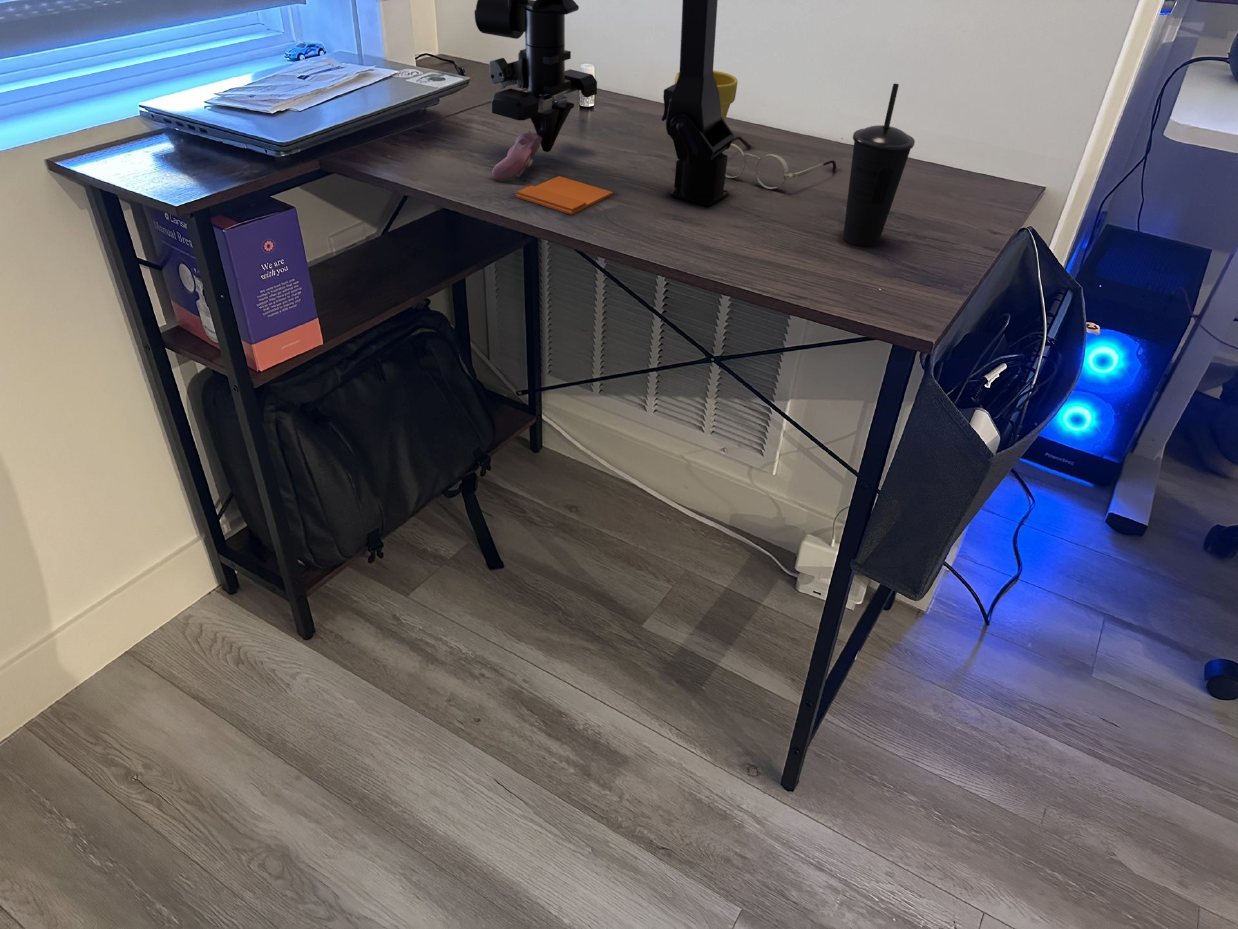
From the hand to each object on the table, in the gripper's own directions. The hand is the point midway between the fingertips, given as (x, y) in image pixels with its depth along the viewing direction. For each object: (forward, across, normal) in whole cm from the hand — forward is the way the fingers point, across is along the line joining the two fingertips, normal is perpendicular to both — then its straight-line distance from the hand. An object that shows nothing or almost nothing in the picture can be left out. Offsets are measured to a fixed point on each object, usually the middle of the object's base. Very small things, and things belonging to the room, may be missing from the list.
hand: (546, 151), depth 137 cm
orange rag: (+2, +10, +11) cm, 15 cm away
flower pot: (+2, -28, +12) cm, 30 cm away
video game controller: (+2, +7, 0) cm, 7 cm away
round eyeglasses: (+2, -21, +29) cm, 35 cm away
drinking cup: (+2, -5, +51) cm, 51 cm away
